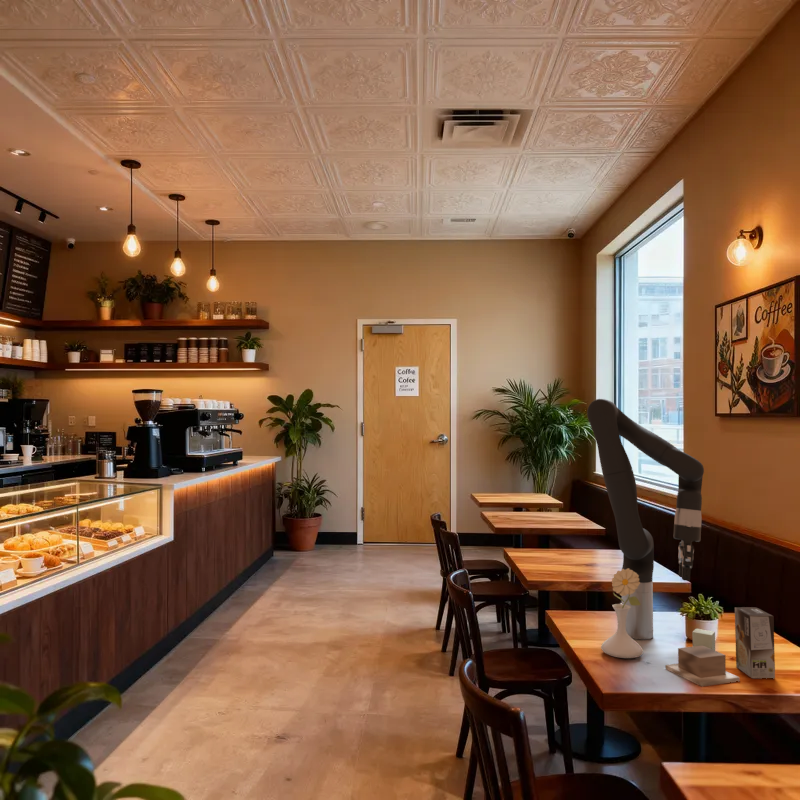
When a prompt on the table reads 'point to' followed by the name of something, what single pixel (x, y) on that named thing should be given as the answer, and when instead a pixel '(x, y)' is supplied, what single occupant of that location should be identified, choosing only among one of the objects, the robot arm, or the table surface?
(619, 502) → the robot arm
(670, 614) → the table surface
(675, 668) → the tower base
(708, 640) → the sage brick
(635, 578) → the flower in vase
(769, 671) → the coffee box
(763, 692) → the table surface
